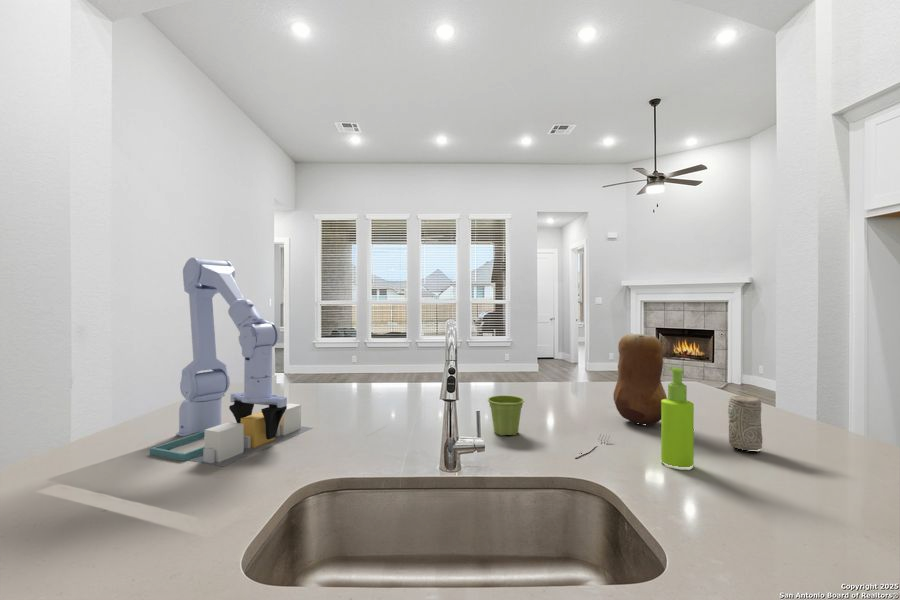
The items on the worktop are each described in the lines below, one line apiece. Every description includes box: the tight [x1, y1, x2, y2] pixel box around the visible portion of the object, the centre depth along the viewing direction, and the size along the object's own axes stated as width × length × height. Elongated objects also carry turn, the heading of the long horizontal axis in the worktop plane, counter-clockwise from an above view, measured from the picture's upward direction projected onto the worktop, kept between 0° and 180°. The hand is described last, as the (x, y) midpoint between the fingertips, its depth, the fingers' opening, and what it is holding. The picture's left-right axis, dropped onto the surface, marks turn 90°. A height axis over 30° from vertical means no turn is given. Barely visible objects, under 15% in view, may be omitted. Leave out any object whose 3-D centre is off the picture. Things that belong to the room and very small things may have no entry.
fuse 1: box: [203, 421, 244, 462], centre depth 88 cm, size 4×6×6 cm, turn 160°
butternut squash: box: [613, 332, 668, 426], centre depth 118 cm, size 14×13×25 cm
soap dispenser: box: [660, 366, 695, 467], centre depth 88 cm, size 6×7×20 cm
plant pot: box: [487, 394, 525, 436], centre depth 109 cm, size 9×9×9 cm
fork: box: [580, 433, 610, 454], centre depth 97 cm, size 3×16×2 cm, turn 137°
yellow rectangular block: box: [241, 411, 275, 448], centre depth 96 cm, size 4×6×6 cm, turn 160°
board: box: [187, 425, 313, 468], centre depth 96 cm, size 9×27×4 cm, turn 160°
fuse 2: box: [279, 402, 302, 435], centre depth 105 cm, size 4×6×6 cm, turn 160°
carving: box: [727, 395, 764, 451], centre depth 97 cm, size 6×8×12 cm
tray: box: [149, 431, 205, 462], centre depth 93 cm, size 10×14×3 cm
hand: (257, 436), depth 96 cm, fingers open, 7 cm apart
